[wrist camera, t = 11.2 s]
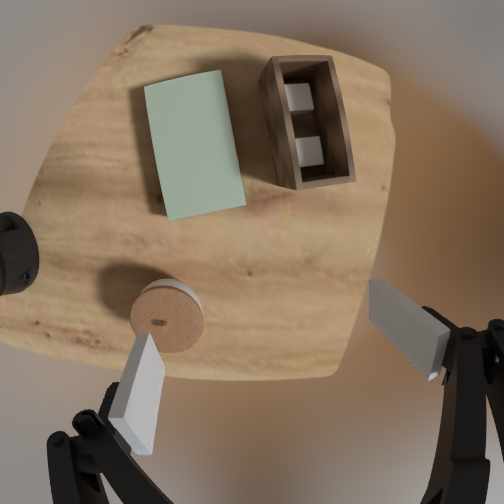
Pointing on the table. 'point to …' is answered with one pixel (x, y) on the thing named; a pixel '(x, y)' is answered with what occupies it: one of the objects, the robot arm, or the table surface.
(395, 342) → the robot arm
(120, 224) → the table surface
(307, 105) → the block
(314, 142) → the block
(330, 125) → the box
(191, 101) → the lid
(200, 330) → the lidded jar
